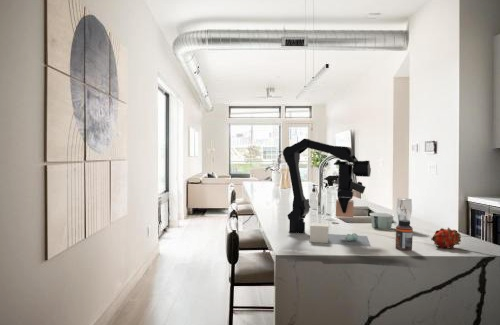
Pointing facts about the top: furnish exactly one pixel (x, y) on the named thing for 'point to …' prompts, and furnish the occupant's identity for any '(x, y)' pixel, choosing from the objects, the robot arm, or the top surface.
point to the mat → (341, 239)
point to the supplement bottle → (404, 235)
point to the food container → (381, 220)
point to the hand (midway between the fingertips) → (344, 211)
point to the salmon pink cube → (348, 212)
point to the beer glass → (404, 209)
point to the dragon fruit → (446, 238)
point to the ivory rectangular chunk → (319, 232)
